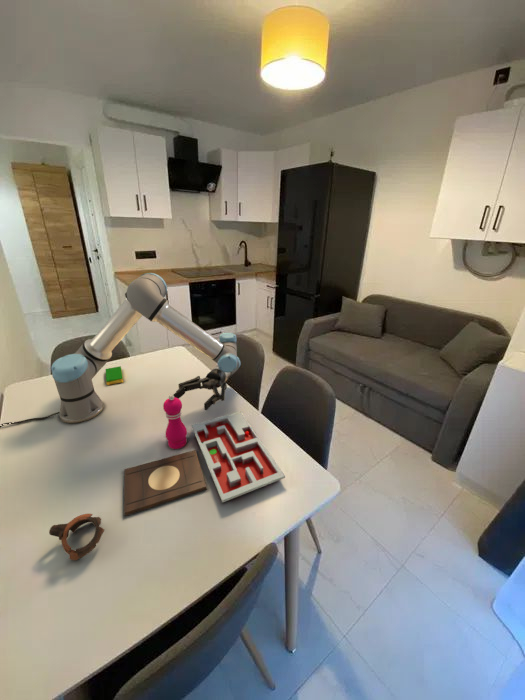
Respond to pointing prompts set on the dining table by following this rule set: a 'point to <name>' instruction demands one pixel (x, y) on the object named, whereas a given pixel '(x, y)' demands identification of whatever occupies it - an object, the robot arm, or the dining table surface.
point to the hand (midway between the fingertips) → (189, 402)
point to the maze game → (235, 456)
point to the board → (162, 481)
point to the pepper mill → (174, 423)
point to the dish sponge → (114, 375)
